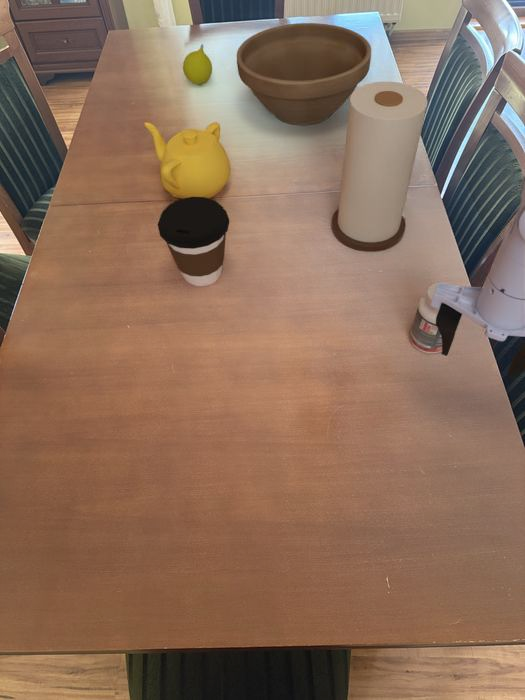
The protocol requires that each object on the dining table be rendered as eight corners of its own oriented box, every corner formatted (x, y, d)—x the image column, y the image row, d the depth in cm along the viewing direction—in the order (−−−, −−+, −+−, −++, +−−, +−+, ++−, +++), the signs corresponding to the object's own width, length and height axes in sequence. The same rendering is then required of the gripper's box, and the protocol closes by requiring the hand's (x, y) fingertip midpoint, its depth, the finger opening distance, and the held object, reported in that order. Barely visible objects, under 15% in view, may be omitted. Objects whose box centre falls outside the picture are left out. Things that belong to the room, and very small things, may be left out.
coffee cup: (221, 303, 82) (212, 246, 72) (159, 289, 84) (143, 232, 75) (243, 258, 88) (238, 200, 79) (186, 247, 91) (174, 189, 81)
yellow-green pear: (217, 85, 126) (213, 42, 118) (190, 92, 125) (184, 48, 117) (208, 73, 130) (203, 30, 122) (181, 79, 129) (175, 36, 121)
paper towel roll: (413, 216, 94) (445, 85, 75) (390, 260, 87) (419, 129, 68) (347, 198, 97) (361, 70, 79) (320, 239, 91) (329, 109, 72)
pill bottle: (439, 360, 74) (458, 315, 66) (402, 345, 76) (416, 299, 68) (453, 334, 77) (472, 288, 69) (417, 319, 79) (432, 273, 71)
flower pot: (229, 140, 111) (224, 78, 101) (251, 78, 128) (248, 19, 117) (361, 147, 108) (369, 83, 97) (366, 82, 124) (373, 22, 114)
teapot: (221, 161, 106) (215, 105, 97) (241, 201, 98) (236, 144, 88) (155, 175, 104) (143, 119, 95) (170, 217, 96) (158, 161, 86)
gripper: (435, 283, 50) (409, 363, 61) (594, 331, 46) (536, 408, 57) (453, 240, 54) (425, 322, 65) (602, 281, 50) (546, 362, 60)
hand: (478, 360), depth 61 cm, fingers open, 7 cm apart
